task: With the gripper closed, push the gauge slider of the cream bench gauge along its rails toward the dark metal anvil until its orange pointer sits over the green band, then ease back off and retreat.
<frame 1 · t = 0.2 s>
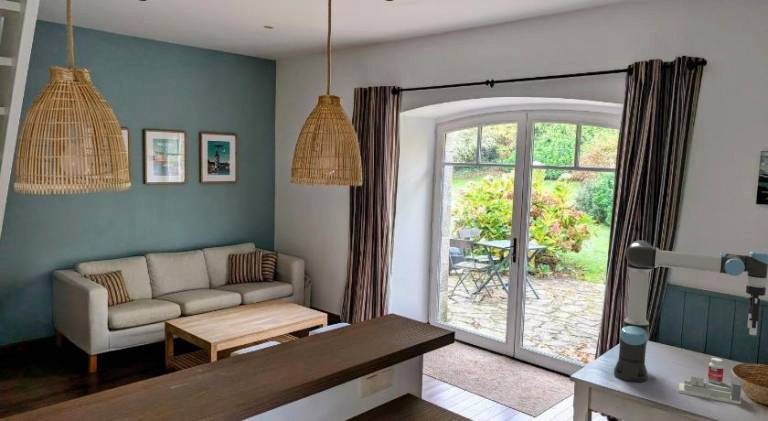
hand: (751, 331, 263), 28 cm above the table, fingers open, 13 cm apart
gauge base: (708, 394, 257), on the table
pill bottle: (714, 382, 274), on the table
gauge slider: (699, 383, 258), point 4 cm above the table, slide at 0.0 cm
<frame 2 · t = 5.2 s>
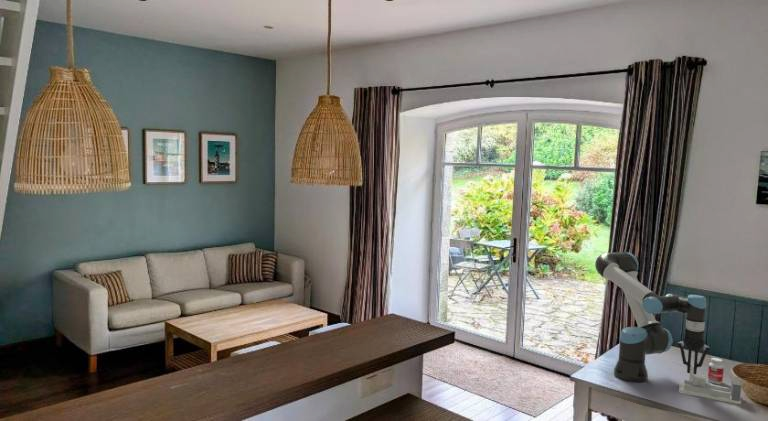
hand: (691, 380, 260), 5 cm above the table, fingers closed
gauge slider: (701, 384, 257), point 4 cm above the table, slide at 0.8 cm, touching gripper
everything else where it was.
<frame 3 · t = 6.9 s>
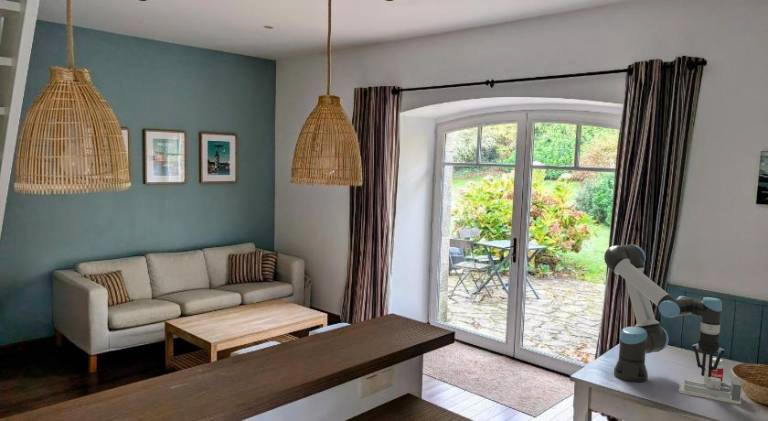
hand: (705, 383, 258), 5 cm above the table, fingers closed
gauge slider: (716, 386, 255), point 4 cm above the table, slide at 6.5 cm, touching gripper
everything else where it was.
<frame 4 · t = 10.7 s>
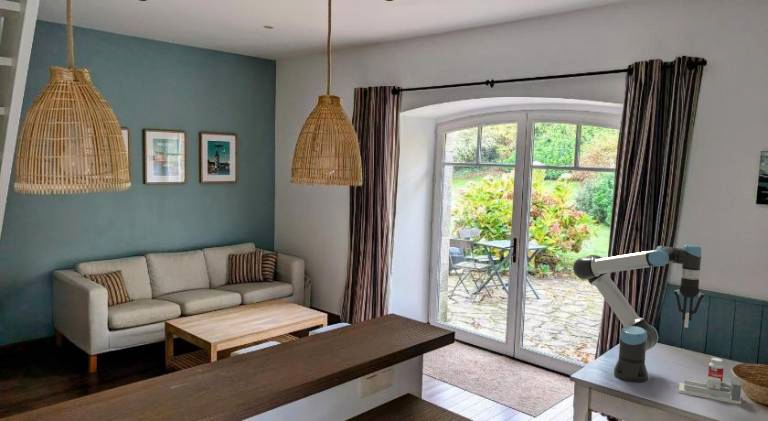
hand: (686, 326, 271), 26 cm above the table, fingers closed
gauge slider: (716, 386, 255), point 5 cm above the table, slide at 6.5 cm
everything else where it was.
at the end: gauge slider slide at 6.5 cm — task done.
